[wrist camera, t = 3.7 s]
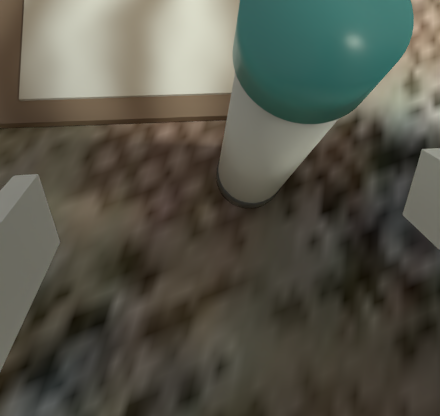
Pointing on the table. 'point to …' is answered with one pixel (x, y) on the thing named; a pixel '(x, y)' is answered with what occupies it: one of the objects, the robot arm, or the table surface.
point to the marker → (300, 82)
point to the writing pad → (115, 61)
